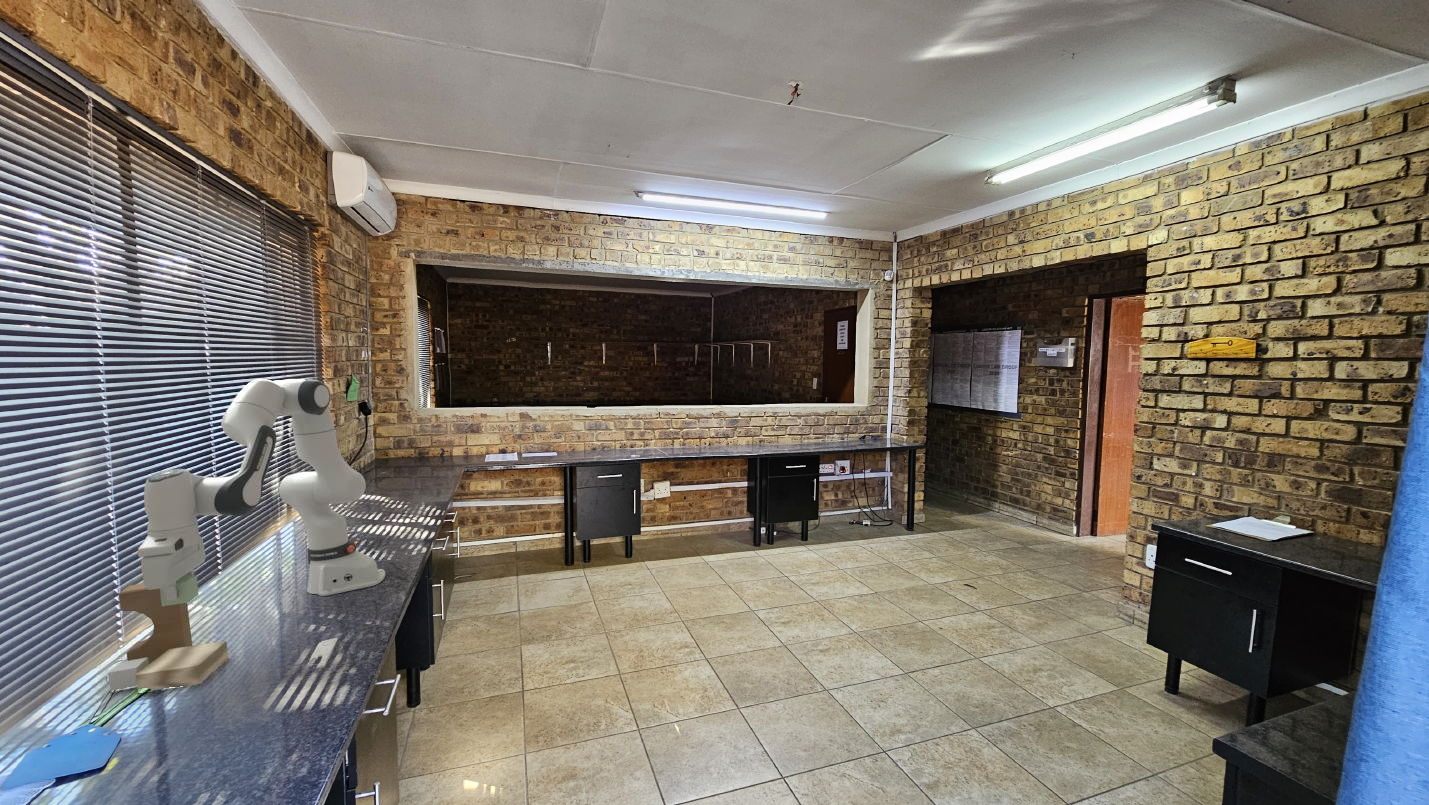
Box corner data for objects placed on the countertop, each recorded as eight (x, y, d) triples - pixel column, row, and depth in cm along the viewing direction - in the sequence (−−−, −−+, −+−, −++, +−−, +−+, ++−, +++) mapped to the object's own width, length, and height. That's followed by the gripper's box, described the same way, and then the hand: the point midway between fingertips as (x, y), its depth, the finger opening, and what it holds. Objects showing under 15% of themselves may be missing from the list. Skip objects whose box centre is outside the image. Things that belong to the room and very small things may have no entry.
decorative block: (127, 670, 142) (117, 593, 140) (138, 660, 147) (128, 584, 145) (185, 659, 147) (176, 583, 145) (193, 649, 152) (185, 576, 150)
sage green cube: (198, 594, 141) (196, 575, 141) (188, 602, 137) (186, 582, 136) (172, 598, 140) (170, 578, 139) (161, 606, 135) (159, 585, 135)
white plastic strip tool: (299, 673, 139) (299, 669, 139) (316, 645, 153) (315, 641, 152) (324, 668, 141) (324, 664, 141) (338, 641, 154) (338, 637, 154)
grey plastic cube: (150, 676, 139) (147, 657, 138) (138, 688, 134) (136, 667, 134) (123, 681, 137) (121, 662, 137) (110, 693, 132) (108, 672, 132)
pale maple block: (228, 659, 146) (226, 641, 146) (200, 685, 135) (198, 665, 134) (171, 668, 143) (169, 649, 143) (138, 695, 132) (135, 674, 131)
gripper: (179, 528, 146) (185, 581, 147) (132, 552, 127) (139, 613, 128) (210, 525, 148) (215, 577, 149) (168, 548, 129) (174, 607, 130)
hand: (180, 594), depth 138 cm, fingers closed on sage green cube, 5 cm apart
